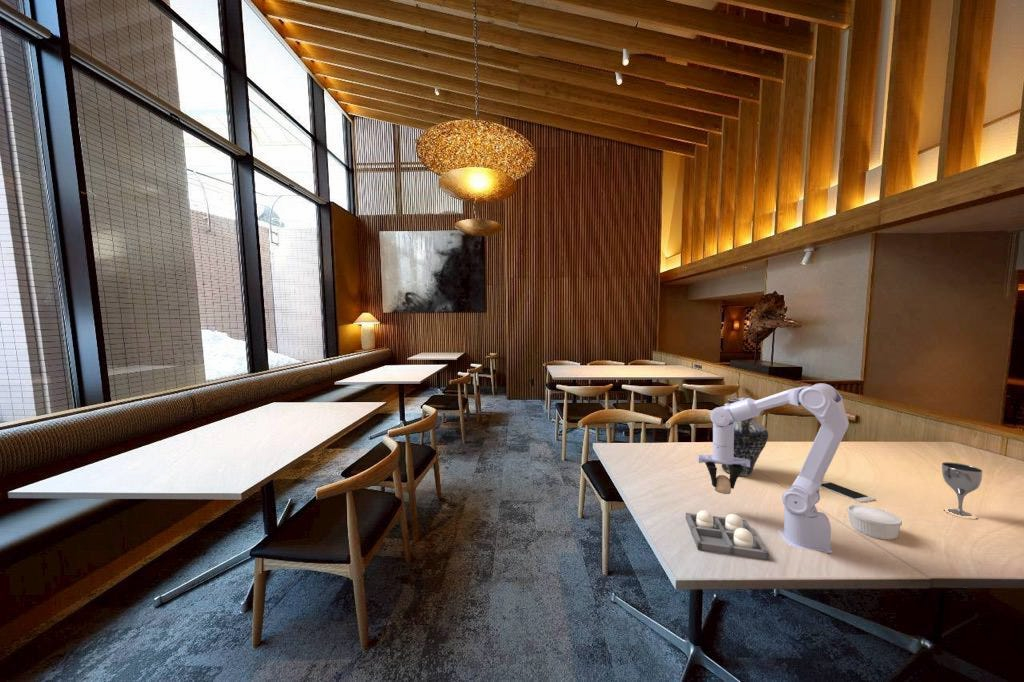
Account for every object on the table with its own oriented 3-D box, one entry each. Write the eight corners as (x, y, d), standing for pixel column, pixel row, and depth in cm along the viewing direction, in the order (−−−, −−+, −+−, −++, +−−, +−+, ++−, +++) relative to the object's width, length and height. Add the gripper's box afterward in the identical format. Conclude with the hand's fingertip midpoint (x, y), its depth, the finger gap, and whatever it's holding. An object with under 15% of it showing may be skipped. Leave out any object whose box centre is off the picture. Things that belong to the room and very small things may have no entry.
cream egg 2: (740, 528, 104) (740, 511, 104) (745, 537, 100) (745, 519, 100) (723, 526, 106) (723, 509, 105) (727, 534, 101) (727, 517, 101)
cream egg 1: (711, 525, 106) (711, 508, 106) (715, 533, 102) (715, 516, 102) (694, 523, 108) (694, 506, 107) (698, 530, 103) (698, 513, 103)
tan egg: (728, 488, 116) (728, 473, 116) (732, 494, 112) (732, 479, 111) (713, 487, 117) (713, 472, 117) (716, 493, 113) (717, 477, 113)
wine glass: (935, 510, 115) (937, 464, 115) (946, 505, 118) (948, 460, 118) (974, 522, 108) (976, 473, 108) (985, 517, 111) (987, 469, 111)
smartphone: (861, 504, 121) (861, 501, 121) (812, 485, 136) (812, 482, 136) (876, 501, 122) (876, 498, 122) (826, 482, 137) (826, 480, 137)
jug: (705, 461, 159) (705, 394, 158) (753, 464, 155) (754, 395, 154) (722, 480, 139) (723, 404, 138) (779, 485, 135) (780, 405, 134)
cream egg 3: (749, 543, 97) (749, 525, 97) (755, 553, 93) (756, 534, 93) (731, 541, 98) (731, 523, 98) (736, 550, 94) (736, 532, 94)
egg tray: (745, 528, 106) (745, 520, 106) (768, 562, 90) (768, 553, 90) (685, 520, 110) (685, 512, 110) (697, 551, 95) (697, 542, 95)
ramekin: (845, 517, 112) (845, 500, 112) (897, 529, 105) (897, 511, 105) (848, 533, 103) (848, 515, 103) (905, 547, 96) (905, 528, 96)
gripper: (744, 442, 116) (744, 483, 116) (695, 438, 120) (695, 479, 120) (752, 449, 109) (752, 493, 109) (700, 445, 113) (699, 487, 113)
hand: (722, 486), depth 114 cm, fingers closed on tan egg, 4 cm apart
